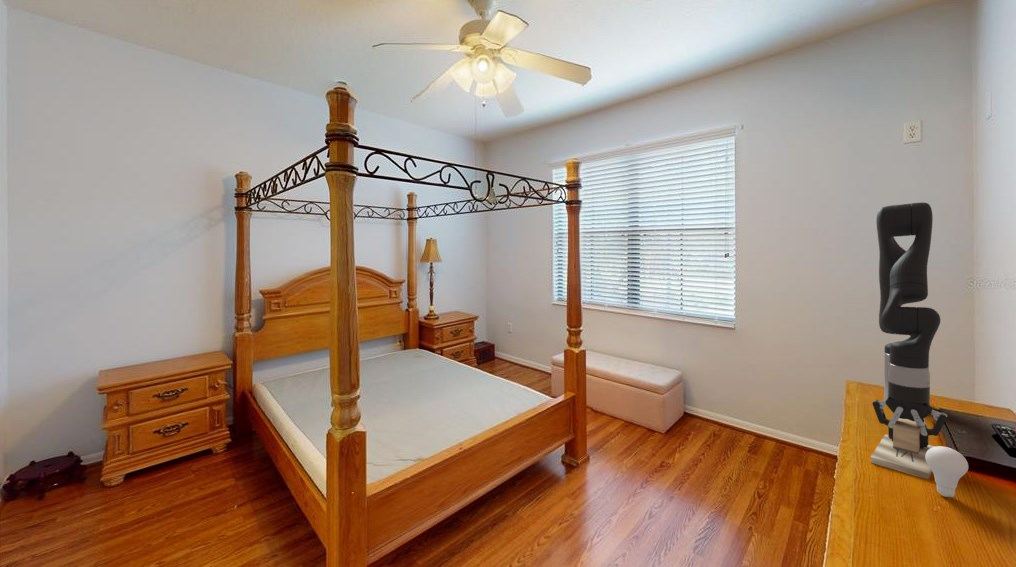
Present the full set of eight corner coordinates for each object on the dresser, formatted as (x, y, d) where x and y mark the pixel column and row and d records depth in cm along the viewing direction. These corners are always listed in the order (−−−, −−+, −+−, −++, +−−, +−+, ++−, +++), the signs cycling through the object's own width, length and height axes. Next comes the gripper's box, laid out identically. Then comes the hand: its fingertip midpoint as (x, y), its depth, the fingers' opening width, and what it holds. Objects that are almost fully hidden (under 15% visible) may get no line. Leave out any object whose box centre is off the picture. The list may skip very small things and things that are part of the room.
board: (884, 439, 107) (885, 434, 107) (938, 452, 99) (938, 447, 99) (870, 462, 96) (870, 456, 96) (928, 479, 88) (928, 473, 88)
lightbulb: (964, 494, 82) (965, 446, 82) (970, 509, 78) (971, 458, 77) (923, 484, 87) (923, 438, 86) (926, 497, 82) (927, 449, 81)
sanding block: (898, 438, 104) (898, 417, 104) (922, 444, 101) (922, 422, 100) (892, 448, 100) (893, 426, 99) (917, 454, 96) (918, 431, 96)
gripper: (951, 384, 95) (950, 449, 96) (874, 372, 107) (873, 430, 108) (948, 392, 91) (947, 459, 92) (868, 378, 102) (867, 439, 104)
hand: (907, 443), depth 100 cm, fingers closed on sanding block, 4 cm apart
